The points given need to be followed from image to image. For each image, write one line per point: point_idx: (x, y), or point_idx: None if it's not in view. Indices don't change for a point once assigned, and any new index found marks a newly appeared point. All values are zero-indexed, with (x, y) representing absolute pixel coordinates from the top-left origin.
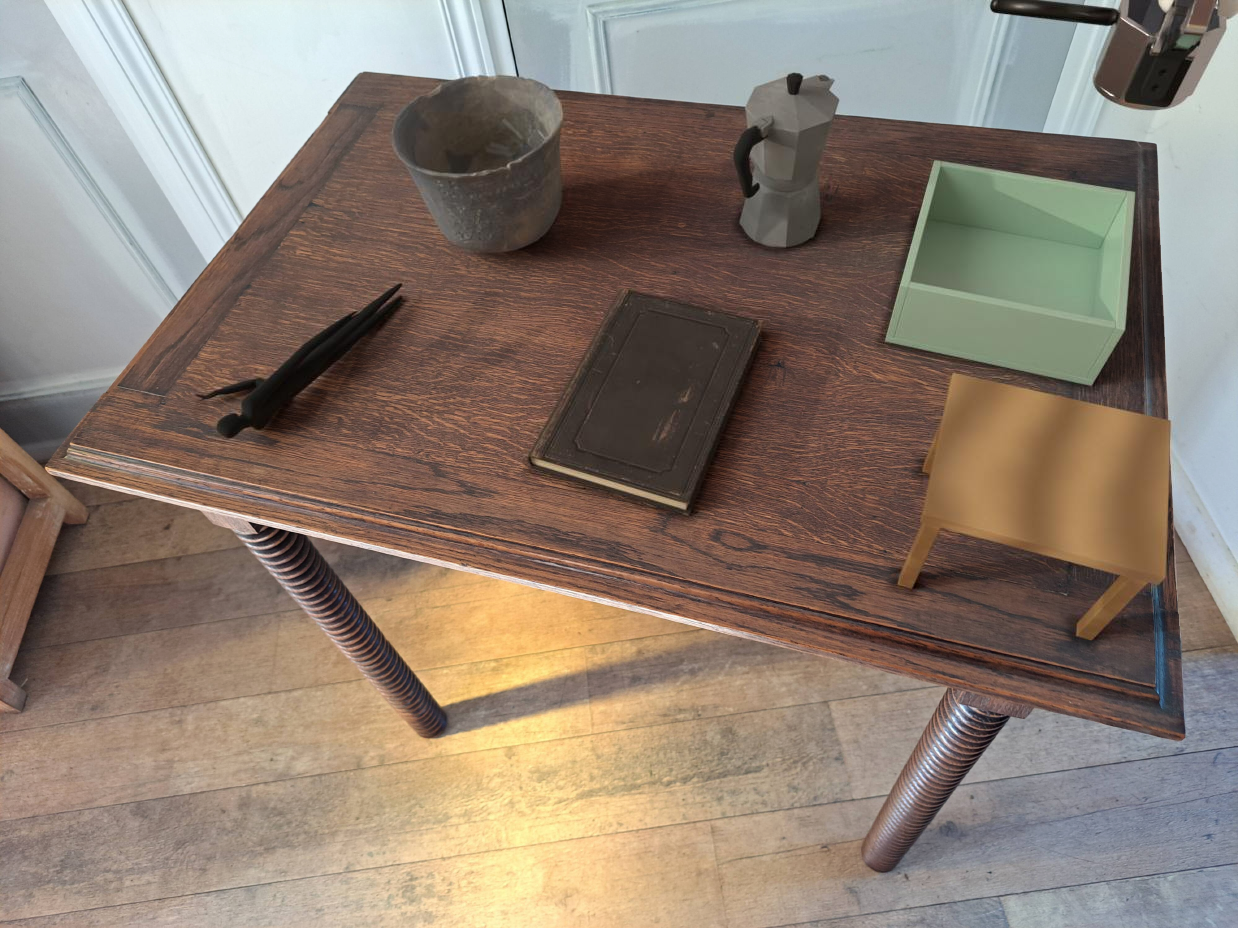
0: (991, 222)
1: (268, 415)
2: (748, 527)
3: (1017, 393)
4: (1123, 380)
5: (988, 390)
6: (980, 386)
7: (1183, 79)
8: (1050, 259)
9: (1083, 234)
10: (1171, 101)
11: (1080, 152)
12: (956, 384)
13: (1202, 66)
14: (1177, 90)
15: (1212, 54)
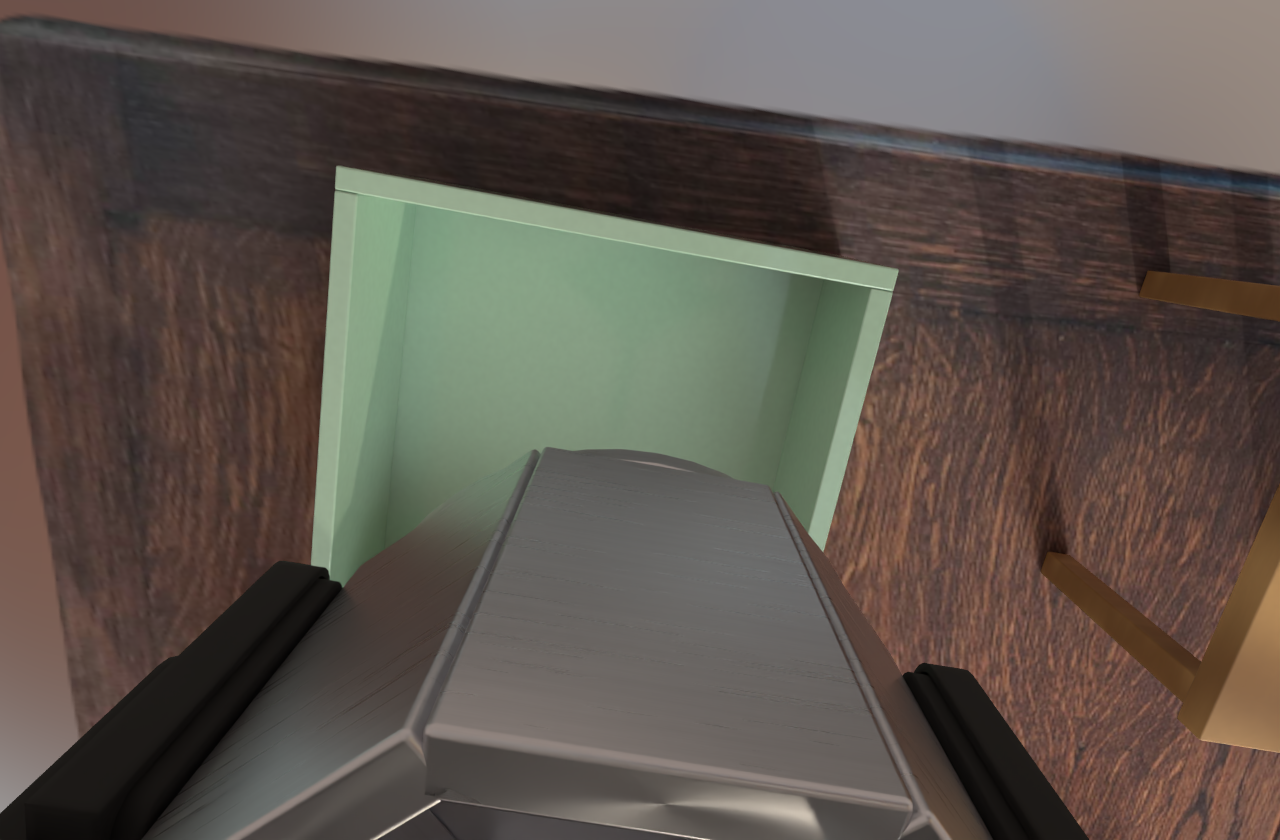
0: (386, 449)
1: None
2: (1164, 818)
3: (1277, 619)
4: (821, 185)
5: (1260, 675)
6: (1245, 689)
7: (1053, 794)
8: (473, 315)
9: (402, 248)
10: (979, 689)
11: (17, 190)
12: (1237, 736)
13: (856, 633)
14: (1011, 736)
15: (845, 641)
